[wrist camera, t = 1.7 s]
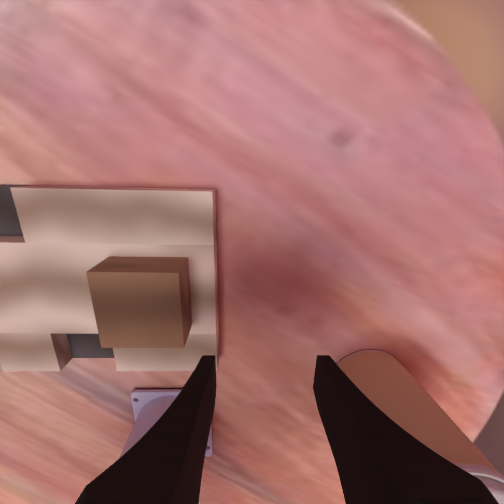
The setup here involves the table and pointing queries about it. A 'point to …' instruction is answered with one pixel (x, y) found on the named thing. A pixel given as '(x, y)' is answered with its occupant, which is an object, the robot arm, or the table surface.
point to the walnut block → (141, 301)
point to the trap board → (90, 254)
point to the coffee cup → (418, 413)
